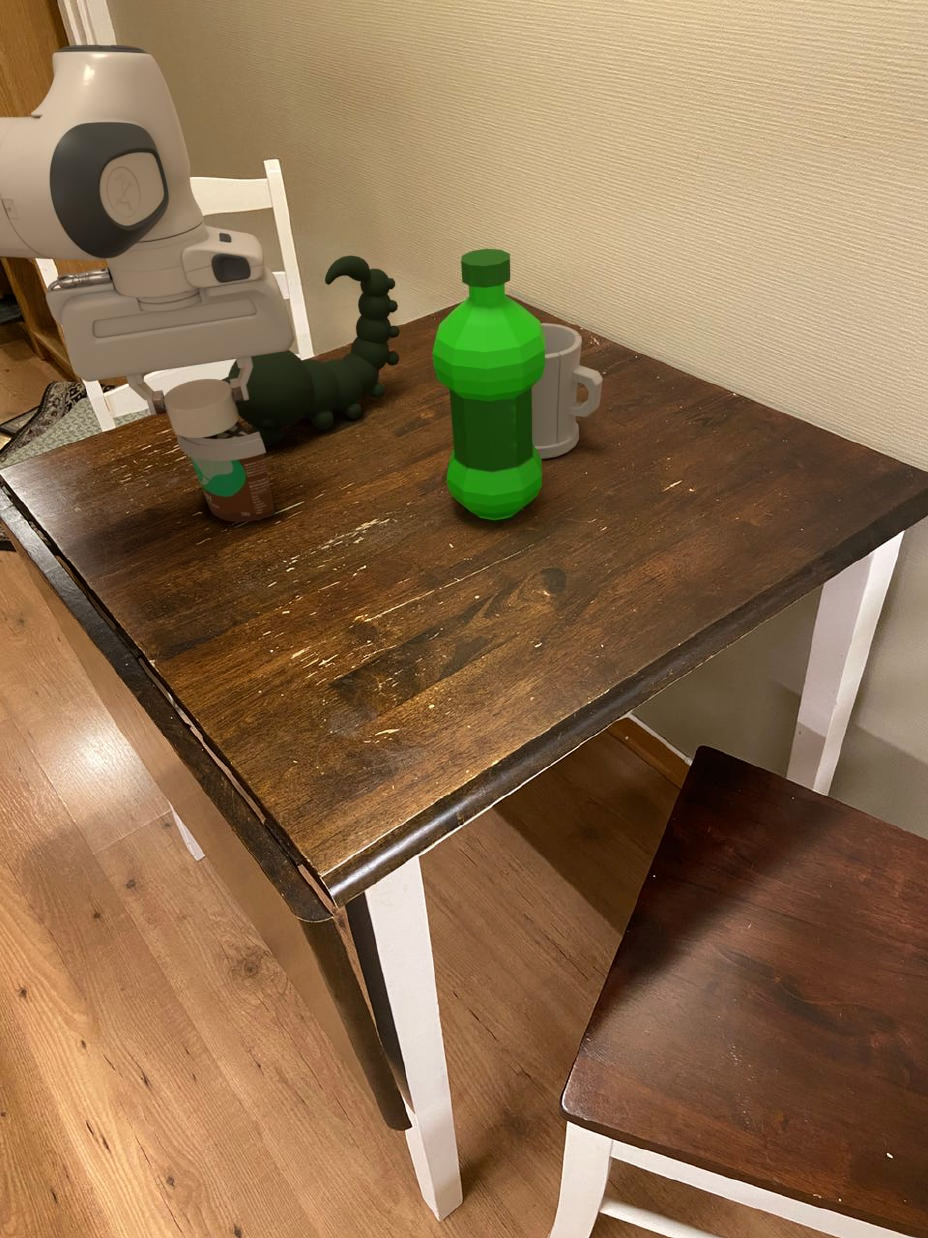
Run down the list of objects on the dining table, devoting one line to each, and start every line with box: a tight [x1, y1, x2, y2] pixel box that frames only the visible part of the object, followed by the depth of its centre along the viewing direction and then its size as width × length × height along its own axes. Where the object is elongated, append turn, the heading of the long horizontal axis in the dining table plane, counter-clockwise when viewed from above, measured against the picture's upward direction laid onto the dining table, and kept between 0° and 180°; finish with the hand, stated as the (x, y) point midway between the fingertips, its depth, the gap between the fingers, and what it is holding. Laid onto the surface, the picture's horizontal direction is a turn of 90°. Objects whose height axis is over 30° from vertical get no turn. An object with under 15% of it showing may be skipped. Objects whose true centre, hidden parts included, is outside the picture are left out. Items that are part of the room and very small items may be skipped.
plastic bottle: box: [431, 248, 545, 521], centre depth 83 cm, size 10×10×25 cm
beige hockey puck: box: [164, 378, 240, 438], centre depth 86 cm, size 7×7×3 cm
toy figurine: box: [221, 255, 401, 446], centre depth 101 cm, size 9×19×25 cm
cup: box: [532, 322, 604, 460], centre depth 96 cm, size 10×9×12 cm
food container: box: [176, 420, 276, 522], centre depth 90 cm, size 12×6×10 cm, turn 37°
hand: (201, 405), depth 86 cm, fingers closed on beige hockey puck, 6 cm apart
